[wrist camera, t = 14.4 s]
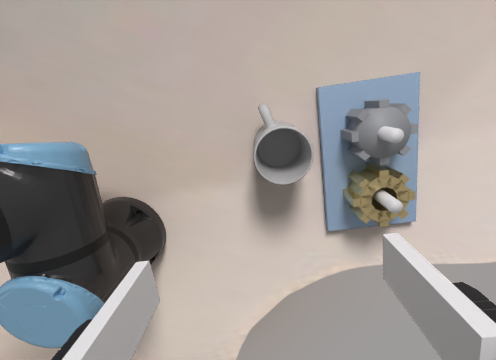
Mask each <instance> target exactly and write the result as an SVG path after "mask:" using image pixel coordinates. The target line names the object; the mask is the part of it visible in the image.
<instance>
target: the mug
mask: <svg viewBox="0 0 496 360" xmlns="http://www.w3.org/2000/svg"><path fill="white" fill-rule="evenodd" d="M258 109H259V112H260V114H261V117H262V119H263V121H264V124H265V125H264V126H263V127H262V128H261V129H260V130H259V131H258V133H257V135H256V137H255V140H254V155H253V156H254V163H255V166H256V169H257V171H258V172H259V174H260V175H261V176H262V177H263V178H264V179H266V180H267V181H269V182H271V183H274V184H279V185H287V184H291V183H294V182H296V181H298V180H300V179H301V178H302V177H304V176H305V175H306V173H307V172H308V171H309V169H310V167H311V165H312V162H313V148H312V144H311V142H310V140H309V139H308V137H307V136H306V135H305V134H304V133H303V132H302V131H300V130H299V129H297V128H296V127H294V126H293V125H291V124H289V123H287V122H284V121H274V119H273V116H272V114H271V111H270V109H269V107H268V105H267V104H266V103H262V104H260V105H259V106H258Z"/></svg>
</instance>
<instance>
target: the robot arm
mask: <svg viewBox="0 0 496 360" xmlns="http://www.w3.org/2000/svg"><path fill="white" fill-rule="evenodd" d="M95 175H96V172H95V171H94V170H93V167H92V164H91V161H90V158H89V154H88V152H87V150H86V149H85V148H84V147H83V146H82V145H80V144H78V143H75V142H53V143H20V144H0V263H2V262H4V261H5V263H6V266H7V268H8V271H9V274H10V276H11V280H9V281H7V282H5V283H4V284H3V285H2V286H1V287H0V324H1V326H2V327H3V328H4V329H5V330H7V331H8V332H9V333H10V334H12V335H13V336H15V337H16V338H18V339H20V340H22V341H25V342H27V343H29V344H32V345H35V346H39V347H45V348H61V350H59V351H58V352H57V353H56V355H55V356H54V357H53V358H52V360H131V359H132V357H133V355H134V353H135V351H136V349H137V347H138V345H139V343H140V340H141V338H142V336H143V334H144V332H145V330H146V328H147V326H148V324H149V322H150V320H151V318H152V316H153V314H154V312H155V310H156V308H157V306H158V304H159V302H160V298H159V294H158V291H157V287H156V284H155V280H154V276H153V273H152V269H151V266H150V265H151V264H152V263H153V262H154V261H155V260H156V259H157V258H158V256H159V255H160V253H161V251H162V250H163V248H164V245H165V240H166V232H165V227H164V224H163V222H162V220H161V218H160V217H159V215H158V214H157V213H156V212H155V211H154V210H153V209H152V208H151V207H150V206H149V205H147V204H145V203H144V202H142V201H139V200H137V199H134V198H128V197H118V198H113V199H110V200H107V201H105V202H104V203H102V200H101V196H100V192H99V188H98V184H97V180H96V177H95ZM383 279H384V280H385V281H386V283H387V284H388V286H389V287H390V288H391V290H392V291H393V292H394V294H395V295H396V297H397V298H398V299H399V301H400V302H401V304H402V305H403V306H404V308H405V309H406V310H407V312H408V313H409V315H410V316H411V317H412V319H413V320H414V321H415V323H416V324H417V326H418V327H419V328H420V330H421V331H422V332H423V334H424V335H425V337H426V338H427V339H428V341H429V342H430V344H431V345H432V346H433V348H434V349H435V350H436V352H437V353H438V355H439V356H440V357H441V359H442V360H496V305H495V304H493V303H492V302H491V301H489V299H487V298H486V297H485V296H484V295H482V293H480V292H479V291H478V290H477V289H475V288H473V287H471V286H469V285H467V284H465V283H463V282H459V283H451V282H450V281H449V280H448V279H447V278H446V277H445V276H443V275H442V274H441V273H440V272H439V271H438V270H437V269H436V268H435V267H434V266H433V265H432V264H430V263H429V262H428V261H427V260H426V259H425V258H424V257H423V256H422V255H421V254H420V253H419V252H417V251H416V250H415V249H414V248H413V247H412V246H411V245H410V244H409V243H408V242H407V241H405V240H404V239H403V238H402V237H401V236H400V235H399V234H398V233H392V234H383Z"/></svg>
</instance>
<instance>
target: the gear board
mask: <svg viewBox="0 0 496 360" xmlns="http://www.w3.org/2000/svg"><path fill="white" fill-rule="evenodd" d="M316 89H317V103H318V117H319V131H320V145H321V159H322V173H323V187H324V201H325V215H326V228H327V230H328V231H335V230H344V229H353V228H362V227H370V226H378V225H377V224H376V223H375V222H374V221H373V220H372V219H371V220H370V221H369V222H368V223H367V224H366V223H365V222H363V221H362V220H361V219H360V218H359V217H358V216H357V215H356V214H355V213H354V212H353V210H352V209H351V208H350V207H349V206H350V205H351V204H350V202H349V201H348V200H347V199H346V198H345V197H344V196H343V189H344V188H349V184H350V183H351V181H352V179H350V178H349V177H348V175H349V174H350V173H351V172H352V171H353V170H354V171H355V172H356V173H359V172H361V171H362V170H364V169H366V163H373V162H374V163H376V164H378V165H380V166H382V167H384V168H385V167H386V166H388V167H390V168H392V169H395V170H397V171H399V172H401V173H403V174H404V175H406V176H407V177H408V178H409V180H408V181H407V182H406V183H405V185H406V187H408V188H410V189H412V190H414V191H415V200H410V201H409V203H408V205H407V206H406V208H405V209H404V210H406V211H407V212H408V213H409V214H408V215H407V216H406V217H405V218H404V219H401V218H400V217H399V216H397V217H396V218H394V219H392V220H390V221H389V224H397V223H405V222H414V221H416V198H417V162H418V126H419V90H420V72H416V73H410V74H403V75H397V76H390V77H384V78H377V79H370V80H364V81H357V82H351V83H344V84H337V85H331V86H324V87H318V88H316ZM372 199H375V200H377V201H378V202H379V203H380V204H382V205H383V206H384V207H385V208H387V209H388V210H389V211H390V212H392V213H399V212H400V211H401V210H402V209H403V204H402V203H401V202H400V201H399V200H397V199H396V198H394V197H393V196H391V195H390V194H388V193H387V192H386V191H384V190H383V189H382V188H380V189H379V190H377V191H376V192H375V193H374V194H373V196H372Z"/></svg>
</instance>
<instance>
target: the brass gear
mask: <svg viewBox="0 0 496 360" xmlns="http://www.w3.org/2000/svg"><path fill="white" fill-rule="evenodd" d="M348 177H349V178H350V179H352V181H351V183H350V184H349V188H344V189H343V196H344V197H345V198H346V199H347V200H348V201H349V202H350V204H351V205H350V206H349V207H350V208H351V209H352V210H353V212H354V213H355V214H356V215H357V216H358V217H359V218H360V219H361V220H362V221H363V222H365V223H366V224H367V223H368V222H369V221H370V220H371V219H372V220H373V221H374V222H375V223H376V224H377V225H378V226H379V227H386V226H389V221H390V220H392V219H394V218H396V217H397V216H399V217H400V218H401V219H404V218H405V217H406V216H407V215H408V214H409V213H408V212H407V211H406V210H404V209H405V208H406V206H407V205H408V203H409V201H410V200H415V191H414V190H412V189H410V188H408V187H406V185H405V183H406V182H407V181H408V180H409V178H408V177H407V176H406V175H404V174H403V173H401V172H399V171H397V170H395V169H392V168H390V167H388V166H386V167H385V168H384V167H382V166H380V165H378V164H376V163H374V162H373V163H366V169H364V170H362V171H361V172H359V173H356V172H355V171H354V170H353V171H352V172H351V173H350V174H349V175H348ZM380 188H382V189H383V190H384V191H386V192H387V193H388V194H390V195H391V196H393V197H394V198H396V199H397V200H399V201H400V202H401V203H402V204H403V209H402V210H401V211H400V212H399V213H392V212H390V211H389V210H388V209H387V208H385V207H384V206H383V205H382V204H380V203H379V202H378V201H377V200H375V199H372V196H373V194H374V193H375V192H376V191H377V190H379V189H380Z"/></svg>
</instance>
